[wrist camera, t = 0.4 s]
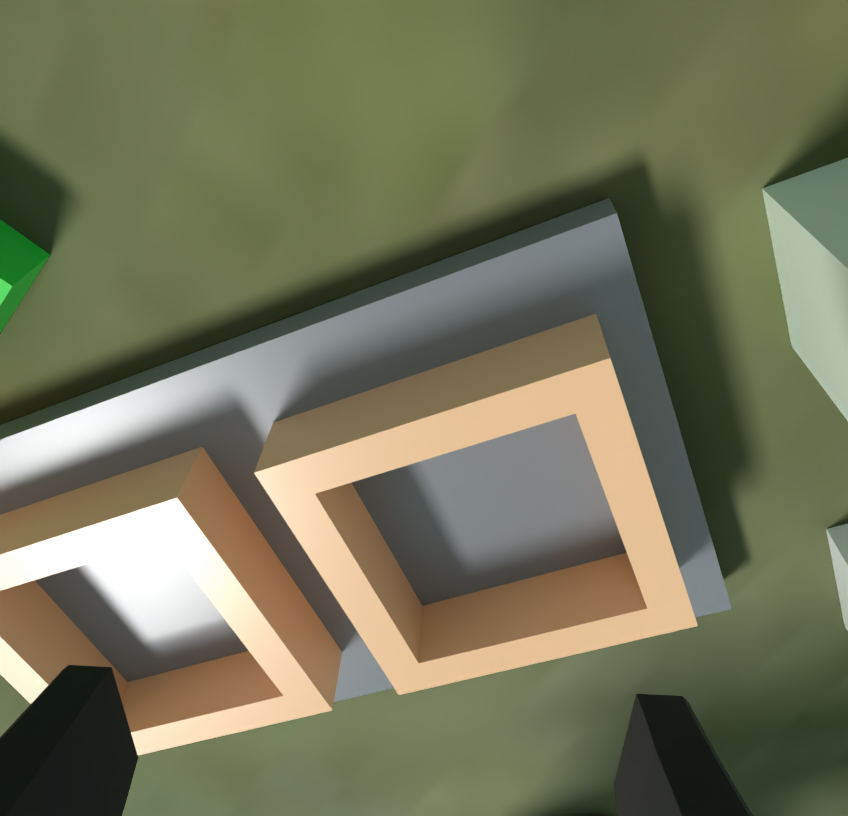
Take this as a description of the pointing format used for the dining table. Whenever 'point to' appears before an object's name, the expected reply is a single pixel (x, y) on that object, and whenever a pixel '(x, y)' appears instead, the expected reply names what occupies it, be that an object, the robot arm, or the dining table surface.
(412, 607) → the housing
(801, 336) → the sage block
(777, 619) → the dining table surface
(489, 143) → the dining table surface
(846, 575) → the grey-green rectangular block
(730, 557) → the dining table surface
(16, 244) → the mechanical part
